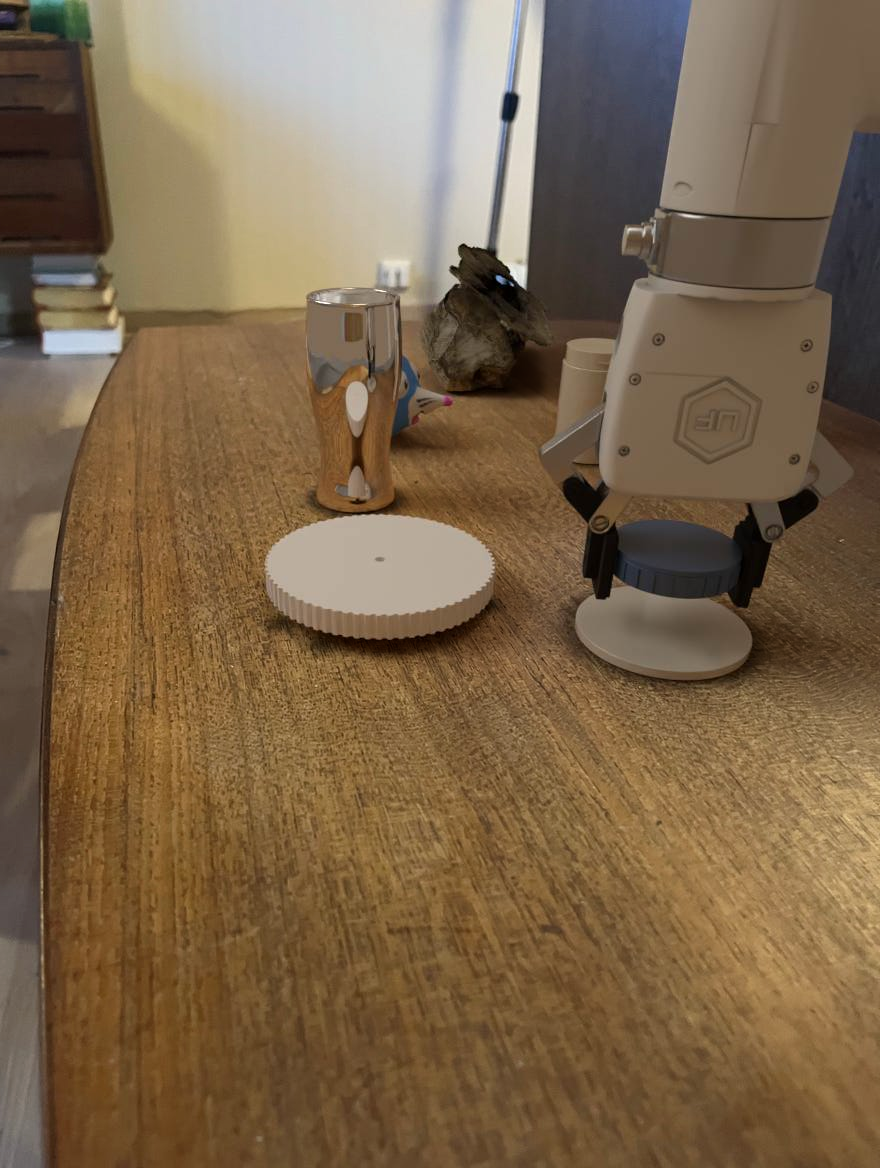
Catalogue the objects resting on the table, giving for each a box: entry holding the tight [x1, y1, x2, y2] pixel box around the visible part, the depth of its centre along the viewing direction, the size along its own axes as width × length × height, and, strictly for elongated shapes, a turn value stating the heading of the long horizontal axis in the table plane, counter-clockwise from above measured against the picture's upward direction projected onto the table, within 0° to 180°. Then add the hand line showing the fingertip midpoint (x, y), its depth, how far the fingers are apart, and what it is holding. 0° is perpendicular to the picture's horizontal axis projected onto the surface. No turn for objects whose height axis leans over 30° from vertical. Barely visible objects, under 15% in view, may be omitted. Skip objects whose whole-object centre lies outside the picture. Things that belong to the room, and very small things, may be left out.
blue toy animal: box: [391, 354, 454, 438], centre depth 79 cm, size 12×12×8 cm
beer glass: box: [304, 286, 403, 513], centre depth 65 cm, size 7×7×15 cm
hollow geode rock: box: [419, 242, 554, 392], centre depth 102 cm, size 28×13×15 cm
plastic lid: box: [264, 513, 496, 641], centre depth 54 cm, size 14×14×2 cm
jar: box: [553, 337, 616, 465], centre depth 77 cm, size 6×6×9 cm
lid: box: [613, 518, 743, 599], centre depth 49 cm, size 7×7×2 cm
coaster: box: [574, 585, 753, 681], centre depth 52 cm, size 10×10×1 cm
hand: (667, 590), depth 50 cm, fingers closed on lid, 7 cm apart
